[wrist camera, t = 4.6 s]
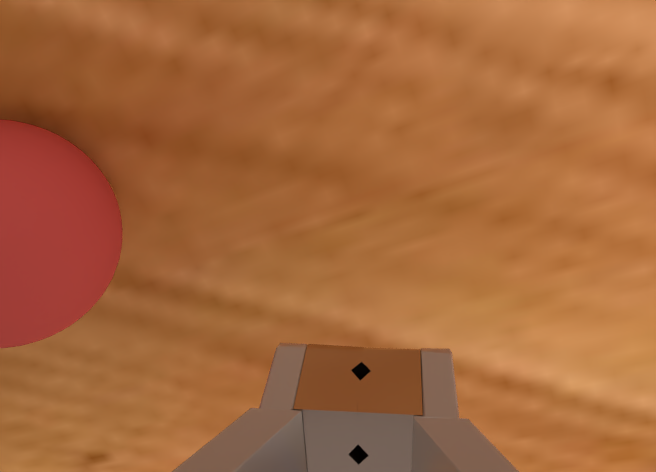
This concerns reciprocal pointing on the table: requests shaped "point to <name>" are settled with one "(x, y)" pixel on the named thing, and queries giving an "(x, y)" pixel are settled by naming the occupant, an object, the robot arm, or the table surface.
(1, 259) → the ball
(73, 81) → the table surface
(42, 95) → the table surface
